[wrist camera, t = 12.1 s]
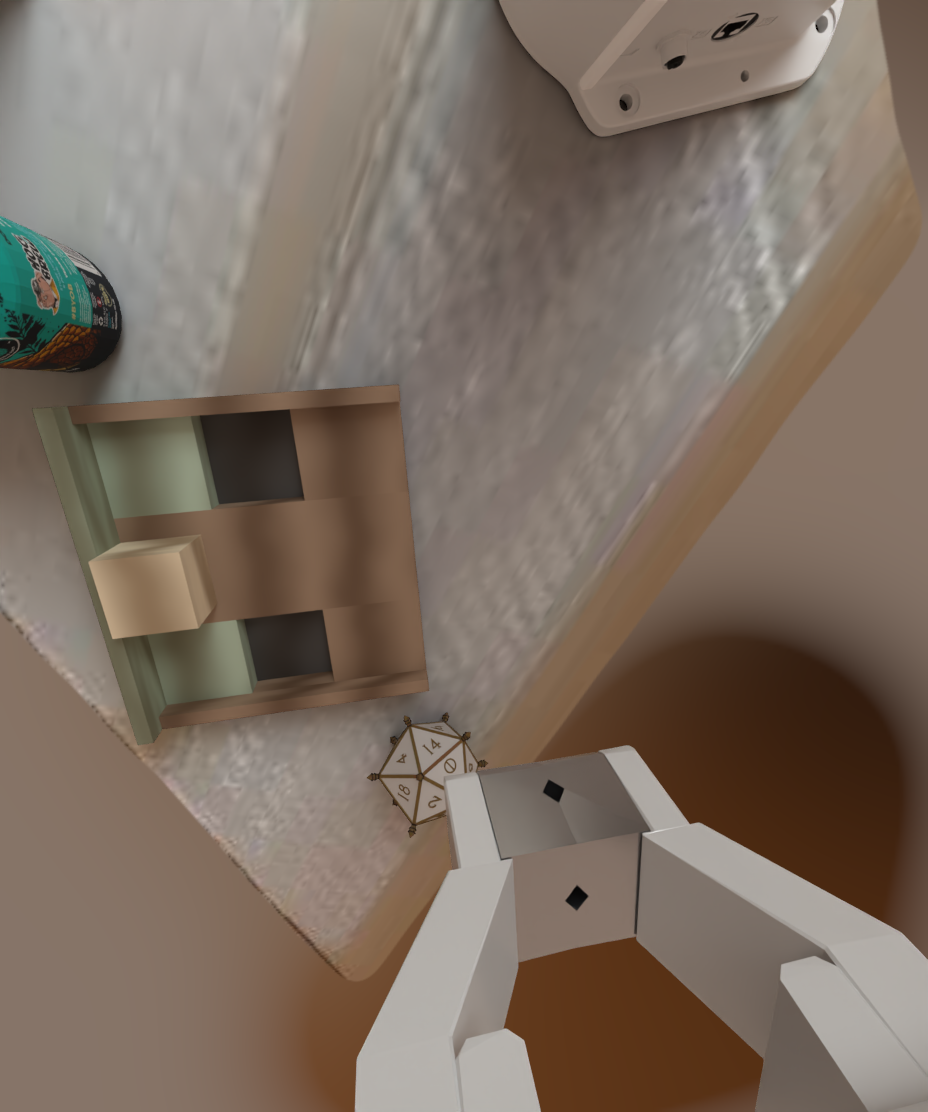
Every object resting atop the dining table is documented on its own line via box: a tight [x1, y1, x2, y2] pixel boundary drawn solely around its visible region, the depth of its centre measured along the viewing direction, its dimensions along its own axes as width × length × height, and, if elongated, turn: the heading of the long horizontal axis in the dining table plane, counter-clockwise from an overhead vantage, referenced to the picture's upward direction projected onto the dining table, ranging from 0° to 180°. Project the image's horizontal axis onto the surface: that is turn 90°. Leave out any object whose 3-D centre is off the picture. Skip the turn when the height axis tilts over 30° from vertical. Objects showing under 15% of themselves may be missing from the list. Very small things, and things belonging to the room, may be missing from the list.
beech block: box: [88, 535, 217, 639], centre depth 33 cm, size 5×5×4 cm
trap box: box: [32, 385, 429, 745], centre depth 35 cm, size 20×22×5 cm
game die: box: [367, 713, 488, 838], centre depth 41 cm, size 9×8×10 cm
